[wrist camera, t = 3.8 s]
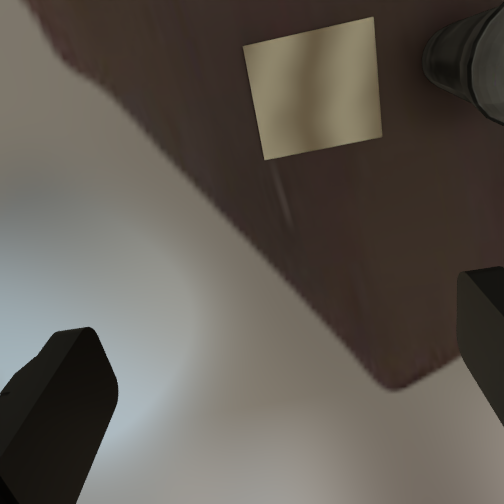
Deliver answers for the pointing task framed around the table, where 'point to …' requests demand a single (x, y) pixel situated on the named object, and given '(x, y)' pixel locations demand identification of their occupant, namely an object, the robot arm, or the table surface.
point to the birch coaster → (315, 88)
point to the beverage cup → (470, 61)
